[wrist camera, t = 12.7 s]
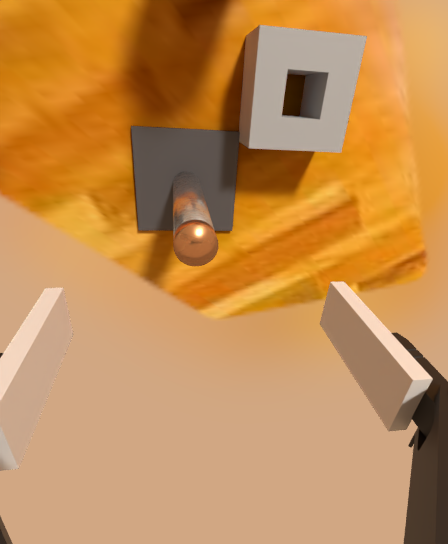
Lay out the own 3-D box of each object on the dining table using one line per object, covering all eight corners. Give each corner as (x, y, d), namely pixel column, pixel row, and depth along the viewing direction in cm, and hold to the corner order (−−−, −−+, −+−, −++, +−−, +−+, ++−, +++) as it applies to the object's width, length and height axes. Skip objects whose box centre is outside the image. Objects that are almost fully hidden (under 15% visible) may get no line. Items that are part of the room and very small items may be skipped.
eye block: (238, 140, 38) (248, 148, 32) (246, 36, 33) (259, 25, 28) (318, 144, 39) (341, 152, 34) (337, 44, 34) (367, 36, 29)
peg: (171, 172, 38) (170, 228, 22) (198, 170, 38) (216, 222, 22) (175, 199, 39) (176, 268, 24) (201, 196, 39) (219, 263, 24)
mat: (139, 228, 41) (138, 230, 40) (131, 125, 35) (131, 126, 35) (231, 229, 43) (232, 230, 42) (238, 131, 37) (239, 132, 36)
